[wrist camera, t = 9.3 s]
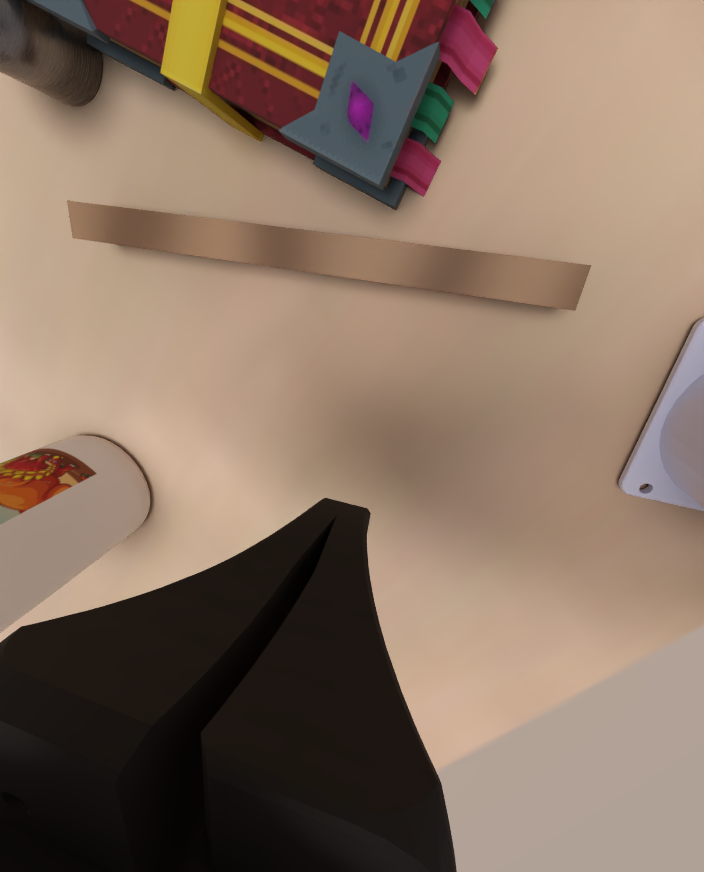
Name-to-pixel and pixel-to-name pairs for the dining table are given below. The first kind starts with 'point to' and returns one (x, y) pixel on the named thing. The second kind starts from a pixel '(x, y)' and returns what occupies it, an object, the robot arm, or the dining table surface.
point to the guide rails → (337, 255)
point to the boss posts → (48, 53)
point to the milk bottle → (63, 516)
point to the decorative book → (308, 72)
